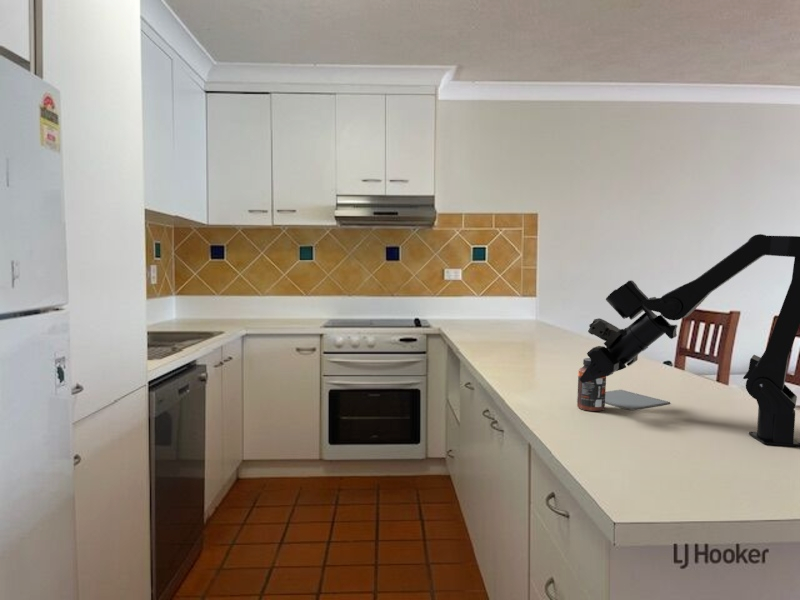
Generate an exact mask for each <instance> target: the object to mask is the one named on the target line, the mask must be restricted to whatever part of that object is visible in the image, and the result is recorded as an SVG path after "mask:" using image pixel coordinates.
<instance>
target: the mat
mask: <svg viewBox="0 0 800 600" xmlns="http://www.w3.org/2000/svg"><path fill="white" fill-rule="evenodd" d="M669 404H671V401H668V400H665V399H664V400H663V399H660V398H657V397H652V396H648V395H644V394H639V393H637V392H636V393H635V392H632V391H627V390H624V389H616V390H608V391H605V405H610V406H614V407H617V408H621V409H624V410H627V411H635V410H641V409H647V408H653V407H658V406H663V405H669Z"/></svg>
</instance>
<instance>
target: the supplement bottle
mask: <svg viewBox="0 0 800 600" xmlns="http://www.w3.org/2000/svg"><path fill="white" fill-rule="evenodd" d="M590 363H591V359H590V358H589V357H585V358H583V360H582V364H583V366H582V367H580V368H579V370H578V376H577V378H578V379H577V398H576V402H577V404H576V406H577V408H579V409H581V410H583V411H586V412H587V411H588V412H601V411H604V410H605V408H606V407H605V406H606V403H605V392H606V390H607V389H606V387H607V386H606V385H607V376H606V377H602V378H599V379H595V380H592V381H588V382H585V383H582V382H581V381H580V378H581V376H582V375H583V373H584V372H585V371H586V369H587V368H588V366H589V365H590Z"/></svg>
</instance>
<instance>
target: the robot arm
mask: <svg viewBox="0 0 800 600" xmlns="http://www.w3.org/2000/svg"><path fill="white" fill-rule="evenodd" d="M765 256H773V257H786V258H787V257H788V258H789V257H790V258H794V261H793V269H792V276H791V280H790V284H789V286H788V290H787V291H786V295H785V298H784V300H783V303H782V306H781V307H780V308H781V309H780V311H779V313H778V316H777V319H776V322H775V325H774V327H773V329H772V332H771V335H770V337H769V340H768V343H767V346H766V348H765V350H764V352H763V354H762V355H761V356H758V355H757V354H756V355H755V354H753V355H752V356H751V358H750V359H749V364H748V365H749V366H748V371H747V372H746V373H745V374H744V375H743V378H742V379H744V380H746V381H745V389H746V391H747V393H748V395H749V396H751V397H752V398H753V399H755V400H756V403H757V405H758V410H757V424H756V425H757V426H756V431H748V435H749V436H751V437H752V438H754V439H756V440H757V441H759V442H760V443H762V444H764V445H768V446H772V445H773V446H784V447H785V446H786V447H800V441H798V440H797V439H795V424H796V423H795V422H796V410H795V408H796V406H797V400H798V397H797V395H796V394H795V393H794V391H792V389H790V388H789V387H788V386H787V385H786V383H785V382H786V376H787V370H788V361H789V356H790V352H791V349H792V348H793V345H794V342H795V339H796V336H797V334H798V331H799V328H800V236H797V235H766V234H762V233H759V234H755V235H752V236H751V237H750V238H749V239H747V242H745V243H744V244H742V245H741V246H739V247H738V248H736V249H735V250H734V251H732V252H731V253H729V255H727V256H726V257H723V259H722V260H720V261H719V262H718V263H716V264H715V265H713V266H712V267H711V268H709V269H708V270H706V271H705V272H704V273H703V274H701V275H700V276H698V277H697V278H696V279H694V280H691V281H689V282H687V283H684V284H683V285H681V286H679V287H676V288H675V289H673V290H671V291H668V292H667V293H665V294H663V295H662V296H661V297H656V296H653V297H648V296H647V295H646V294H645V293H644V292H643V290H641V289H640V288H639V286H638V285H637V284H636V282H635V281H634V280H631V279H630V280H627V282H626V283H624V284H622V285H621V286H619V287H618V288H617V289H613V290H612V291H611V293H609V294H608V295H607V296H606V298H605V301H606V302H607V303H608V304H609V305H610V306H611V307H612V308H613V310H614V311H615V312H616V313H617V314H618V315H619V316H620V318H622V319H623V320H625V319H628V318H629V320H634V319H635V318H636V320H635V321H633V322H632V323H631V324H630V325H628V326H627V327H624V328H619V327H617V326H616V325H614V324H612V323H610V322H608V321H607V320H605V319H603V318H598V317H597V318H594V319H593V321H592V323H590V324H589V325H588V326H589V328H588V331H587V332H588V333H589V334H590V335H592V336H593V335H594V336H596V337H597V338H599V339H600V340H602V341H604V342H603V343H602V344H603V345H597V346H595V347H592V348H591V349H590V350H589V351H587V352H586V355H587V356H588V358H590V359H591V363H590V365H589V366H588V368H587V369H586V371H585V372H584V373H583V375H582V376H581V378H580V381H581V382H582V383H585V382H588V381H592V380H595V379H599V378H602V377H606V378H607V377H609V376H611V375H613V374H614V373H615V372H618V371H622V370H624V369H626V368H627V366H628V367H630V366H632V365H633V364H634V363H635V362H637V361H638V358H639V354H641V353H642V352H644V351H646V350H647V349H648V348H649V347H650V346H651V345H652V344H653V343H654V342H655V341H657V340H658V339H659V338H661V337H662V336H663V335H664V334H665V335H666V336H667V337H668V338H669V339H671V340H673V339H674V338H677V329H678V325H677V324H672V323H670V322H669V321H679V320H681V319H684V318H688V317H689V316H690V315H691V314H692V313H693V312H695V310H696V309H697V308H698V307H699V306H700V305H701V304H702V303H703V302H704V301H705V300H706V298H707V297H708V296H709V295H710V294H711V293H712V292H714V291H715V290H717V289H718V288H719V287H721V286H722V285H724V284H725V283H727V282H728V281H729V280H731V279H733V278H734V277H735V276H737V275H738V274H740V273H741V272H742V271H744V270H746V269H747V268H748V267H750V266H751V265H752V264H754V263H755V262H757V261H758V260H759V259H761V258H762V257H765ZM642 312H644V313H643V314H641V313H642ZM654 312H656V313H660V314H659V315H657V314H655V313H654ZM640 314H641V315H640ZM639 315H640V316H639ZM638 316H639V317H638ZM637 317H638V318H637ZM668 320H669V321H668Z"/></svg>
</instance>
